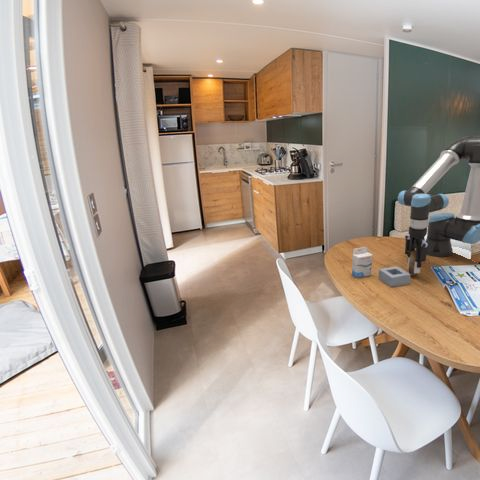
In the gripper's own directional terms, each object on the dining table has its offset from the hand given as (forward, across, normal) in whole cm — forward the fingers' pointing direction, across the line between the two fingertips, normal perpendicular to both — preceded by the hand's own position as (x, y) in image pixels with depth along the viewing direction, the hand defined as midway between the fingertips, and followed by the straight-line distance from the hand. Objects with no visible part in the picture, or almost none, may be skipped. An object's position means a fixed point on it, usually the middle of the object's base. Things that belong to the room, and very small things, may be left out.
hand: (413, 270), depth 151 cm
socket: (+3, +1, -12) cm, 12 cm away
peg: (+2, 0, 0) cm, 2 cm away
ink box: (+3, -10, -22) cm, 25 cm away
